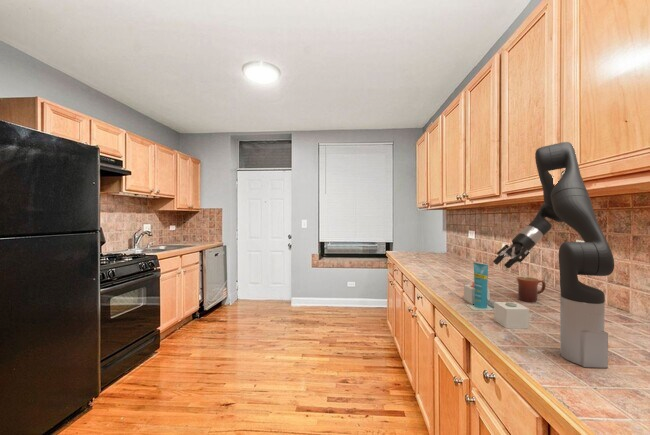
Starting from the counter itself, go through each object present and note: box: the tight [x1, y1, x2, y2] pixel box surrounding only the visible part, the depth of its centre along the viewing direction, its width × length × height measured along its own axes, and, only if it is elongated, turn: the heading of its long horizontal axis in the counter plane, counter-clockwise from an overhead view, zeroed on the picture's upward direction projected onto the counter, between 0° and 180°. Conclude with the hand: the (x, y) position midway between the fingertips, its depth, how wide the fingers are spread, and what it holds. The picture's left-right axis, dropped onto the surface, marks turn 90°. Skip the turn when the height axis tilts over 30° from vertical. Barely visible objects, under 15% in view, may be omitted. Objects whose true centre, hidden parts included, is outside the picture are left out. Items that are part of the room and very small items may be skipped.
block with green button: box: [493, 301, 530, 330], centre depth 104 cm, size 8×8×8 cm
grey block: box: [463, 284, 491, 305], centre depth 131 cm, size 8×8×7 cm
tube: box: [473, 262, 489, 309], centre depth 122 cm, size 7×5×19 cm, turn 24°
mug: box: [516, 276, 546, 303], centre depth 132 cm, size 12×9×10 cm
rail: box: [487, 298, 497, 309], centre depth 118 cm, size 18×2×2 cm, turn 177°
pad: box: [466, 304, 494, 311], centre depth 123 cm, size 6×9×1 cm, turn 87°
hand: (500, 265), depth 122 cm, fingers open, 8 cm apart
